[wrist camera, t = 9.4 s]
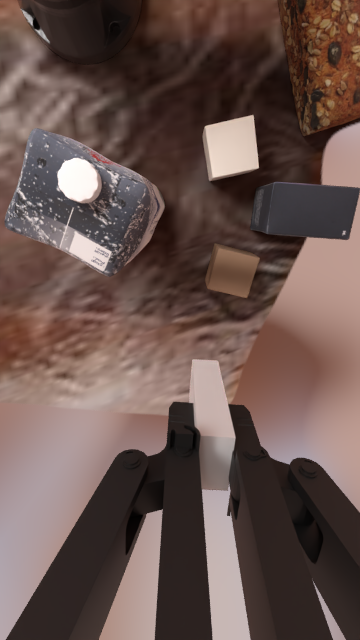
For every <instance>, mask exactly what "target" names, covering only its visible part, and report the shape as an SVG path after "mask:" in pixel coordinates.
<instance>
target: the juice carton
mask: <svg viewBox="0 0 360 640" xmlns="http://www.w3.org/2000/svg"><path fill="white" fill-rule="evenodd" d="M164 208H165V203H164V199H163V197H162V195H161V193H160V191H159V189H158V188H157V187H156V186H155V185H154V184H152V183H151V182H150V181H148V180H147V179H146V178H144V177H143V176H141V175H140V174H138V173H136V172H134V171H132V170H130V169H128V168H126V167H124V166H121V165H119V164H116V163H114V162H112V161H110V160H109V159H107V158H106V157H104V156H102V155H101V154H99V153H97V152H96V151H94V150H92V149H91V148H89V147H87V146H85V145H84V144H82V143H80V142H78V141H76V140H73V139H71V138H68V137H64V136H61V135H58V134H54V133H51V132H48V131H44V130H41V129H33V130H32V131H31V133H30V135H29V138H28V142H27V146H26V151H25V156H24V162H23V167H22V171H21V175H20V179H19V182H18V185H17V188H16V190H15V193H14V195H13V198H12V200H11V202H10V205H9V207H8V210H7V213H6V217H5V227H6V228H7V229H9V230H11V231H13V232H15V233H18V234H20V235H23V236H26V237H28V238H31V239H34V240H37V241H39V242H42V243H45V244H48V245H50V246H53V247H55V248H57V249H60V250H62V251H64V252H66V253H68V254H69V255H71V256H73V257H75V258H76V259H78V260H80V261H81V262H83V263H84V264H86V265H88V266H89V267H91V268H93V269H94V270H96V271H98V272H100V273H102V274H103V275H105V276H108V277H110V276H112V275H114V274H116V273H117V272H119V271H120V270H121V268H122V267H123V266H125V265H126V264H127V263H129V262H130V261H131V260H132V259H133V258H134V257H135V256H136V255H137V254H138V253H139V252H140V251H141V250H142V249H143V248H144V247H145V246H146V245H147V244H148V242H149V241H150V239H151V237H152V235H153V233H154V230H155V227H156V225H157V223H158V221H159V219H160V217H161V215H162V213H163V211H164Z"/></svg>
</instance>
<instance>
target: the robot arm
mask: <svg viewBox="0 0 360 640" xmlns="http://www.w3.org/2000/svg"><path fill="white" fill-rule="evenodd" d="M18 3H19V6H20V8H21V10H22V12H23V14H24V16H25V18H26V20H27V22H28V23H29V25H30V26H31V28H32V29H33V30H34V32H35V33H36V34H37V35H38V36H39V38H40V39H41V40H42V41H43V42H44V43H45V45H46V46H47V47H49V48H50V49H51V50H52V51H53V52H54V53H56V54H57V55H59V56H60V57H62V58H64V59H66V60H69V61H71V62H75V63H79V64H95V63H99V62H103V61H105V60H107V59H109V58H111V57H113V56H114V55H116V54H117V53H118V52H119V51H120V50H121V49H122V48H123V47H124V46H125V45H126V44H127V42H128V41H129V39H130V38H131V36H132V34H133V32H134V30H135V28H136V25H137V23H138V20H139V16H140V11H141V5H142V0H18ZM229 484H230V490H231V492H230V498H229V505H228V512H227V516H230V512H231V516H232V522H233V528H234V535H235V541H236V548H237V554H238V560H239V567H240V573H241V580H242V586H243V593H244V599H245V606H246V612H247V618H248V625H249V631H250V638H251V640H333V638H332V636H331V633H330V630H329V627H328V624H327V621H326V618H325V615H324V612H323V610H322V607H321V604H320V601H319V598H318V595H317V593H316V589H315V586H314V584H313V581H314V583H315V585H316V587H317V588H318V590H319V592H320V594H321V596H322V597H323V599H324V601H325V603H326V605H327V606H328V608H329V610H330V612H331V613H332V615H333V617H334V619H335V621H336V622H337V624H338V626H339V628H340V630H341V631H342V633H343V635H344V637H345V639H346V640H360V513H359V511H358V510H357V509H356V508H355V506H354V505H353V504H352V503H351V502H350V501H349V499H348V498H347V497H346V496H345V494H344V493H343V492H342V491H341V490H340V489H339V487H338V486H337V485H336V484H335V483H334V481H333V480H332V479H331V478H330V476H329V475H328V474H327V473H326V472H325V470H324V469H323V468H322V467H321V466H320V465H318V464H317V463H316V462H314V461H312V460H310V459H306V458H296V459H294V460H293V461H292V462H291V463H290V465H289V464H286V463H282V462H279V461H276V460H274V459H272V458H271V457H270V456H269V454H268V452H267V451H266V450H265V449H264V448H263V447H261V445H260V442H259V439H258V436H257V433H256V430H255V427H254V424H253V421H252V418H251V415H250V412H249V411H248V409H247V408H246V407H245V406H244V405H231V404H228V402H227V398H226V394H225V389H224V385H223V381H222V376H221V372H220V368H219V363H218V361H215V360H198V359H192V370H191V382H190V394H189V403H184V402H173V404H172V405H171V406H170V407H169V420H168V433H167V444H166V447H165V449H164V450H162V451H161V452H160V453H158V454H155V455H152V456H147V455H145V453H144V452H142V451H139V450H133V449H131V450H125V451H123V452H121V453H119V454H118V455H117V457H116V458H115V459H114V461H113V463H112V464H111V466H110V467H109V469H108V471H107V472H106V474H105V476H104V478H103V479H102V481H101V483H100V484H99V486H98V487H97V489H96V491H95V492H94V494H93V496H92V498H91V499H90V501H89V502H88V504H87V506H86V508H85V509H84V511H83V513H82V514H81V516H80V517H79V519H78V521H77V522H76V524H75V526H74V527H73V529H72V531H71V533H70V534H69V536H68V537H67V539H66V541H65V542H64V544H63V546H62V547H61V549H60V551H59V552H58V554H57V556H56V557H55V559H54V561H53V562H52V564H51V566H50V567H49V569H48V571H47V572H46V574H45V576H44V577H43V579H42V581H41V583H40V584H39V586H38V587H37V589H36V591H35V592H34V594H33V596H32V597H31V599H30V601H29V602H28V604H27V606H26V607H25V609H24V611H23V612H22V614H21V616H20V617H19V619H18V621H17V622H16V624H15V626H14V627H13V629H12V630H11V632H10V634H9V635H8V637H7V639H6V640H99V637H100V635H101V632H102V629H103V627H104V624H105V622H106V619H107V616H108V614H109V611H110V609H111V606H112V603H113V601H114V598H115V596H116V593H117V590H118V588H119V585H120V582H121V580H122V577H123V575H124V572H125V570H126V567H127V564H128V562H129V559H130V557H131V554H132V551H133V549H134V546H135V543H136V541H137V538H138V536H139V533H140V530H141V528H142V525H143V523H144V520H145V518H146V514H147V513H150V512H154V511H157V510H162V509H163V514H162V530H161V546H160V563H159V579H158V596H157V611H156V627H155V640H212V626H211V612H210V599H209V584H208V571H207V556H206V543H205V528H204V514H203V502H202V489H208V490H228V485H229ZM312 580H313V581H312Z"/></svg>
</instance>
